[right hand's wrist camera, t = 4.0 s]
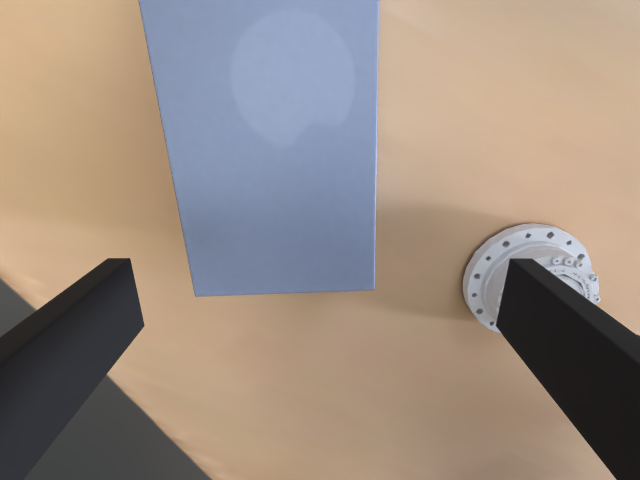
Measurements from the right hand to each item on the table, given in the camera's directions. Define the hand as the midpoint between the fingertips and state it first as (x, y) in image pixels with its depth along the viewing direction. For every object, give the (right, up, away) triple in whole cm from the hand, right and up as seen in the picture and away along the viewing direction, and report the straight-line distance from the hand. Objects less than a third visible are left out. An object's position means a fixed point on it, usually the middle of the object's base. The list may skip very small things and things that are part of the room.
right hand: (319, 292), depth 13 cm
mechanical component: (+17, -1, +18) cm, 25 cm away
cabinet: (-3, +11, +13) cm, 17 cm away
